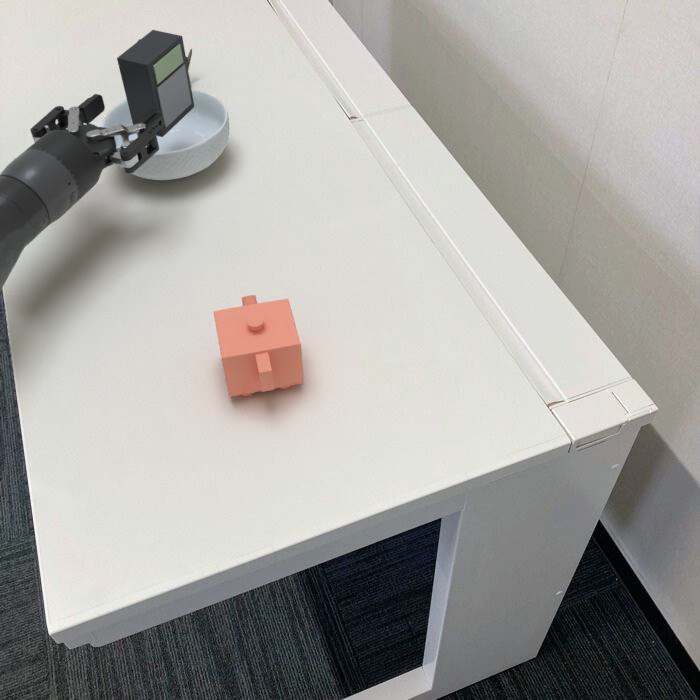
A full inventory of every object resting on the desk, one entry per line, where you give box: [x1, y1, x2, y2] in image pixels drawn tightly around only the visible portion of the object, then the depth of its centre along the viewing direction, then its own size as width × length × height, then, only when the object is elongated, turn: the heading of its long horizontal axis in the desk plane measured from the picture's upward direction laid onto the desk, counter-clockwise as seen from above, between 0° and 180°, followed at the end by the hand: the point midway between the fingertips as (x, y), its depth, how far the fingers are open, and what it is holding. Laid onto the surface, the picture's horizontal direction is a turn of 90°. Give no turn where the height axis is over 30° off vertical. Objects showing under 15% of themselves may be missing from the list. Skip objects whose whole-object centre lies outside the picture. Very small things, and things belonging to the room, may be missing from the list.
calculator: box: [116, 29, 194, 137], centre depth 99 cm, size 5×8×10 cm, turn 157°
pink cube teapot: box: [213, 294, 305, 398], centre depth 80 cm, size 8×12×8 cm, turn 14°
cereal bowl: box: [100, 88, 230, 181], centre depth 106 cm, size 17×17×7 cm
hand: (129, 107), depth 96 cm, fingers open, 8 cm apart
